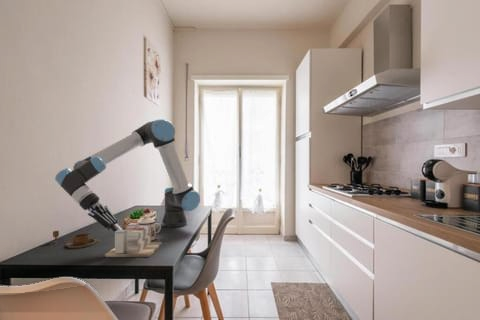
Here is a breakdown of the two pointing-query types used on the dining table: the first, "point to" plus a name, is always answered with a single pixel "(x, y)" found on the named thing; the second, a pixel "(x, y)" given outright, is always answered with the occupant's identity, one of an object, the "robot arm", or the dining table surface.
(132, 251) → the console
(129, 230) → the key terracotta
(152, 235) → the teacup with lid
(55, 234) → the place setting
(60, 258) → the dining table surface
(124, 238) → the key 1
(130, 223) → the key
